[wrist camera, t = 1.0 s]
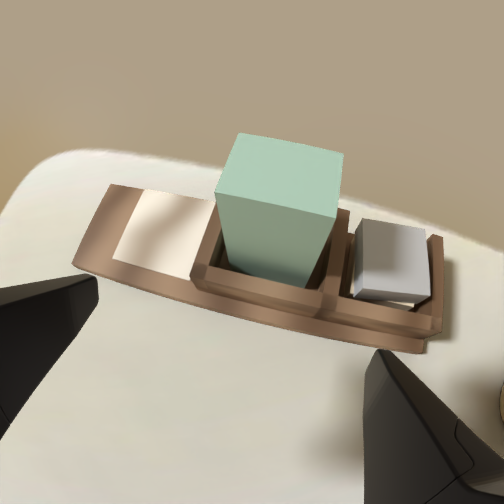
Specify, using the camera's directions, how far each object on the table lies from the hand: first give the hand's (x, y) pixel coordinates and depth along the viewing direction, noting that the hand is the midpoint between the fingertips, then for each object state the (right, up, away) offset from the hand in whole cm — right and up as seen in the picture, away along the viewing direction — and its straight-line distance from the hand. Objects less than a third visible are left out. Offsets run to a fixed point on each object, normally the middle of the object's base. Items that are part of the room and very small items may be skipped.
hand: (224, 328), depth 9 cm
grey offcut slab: (+10, +1, +12) cm, 16 cm away
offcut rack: (+1, +1, +15) cm, 15 cm away
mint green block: (+2, +2, +14) cm, 15 cm away
